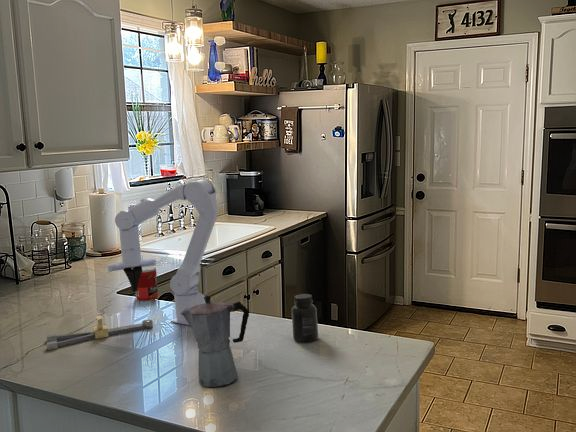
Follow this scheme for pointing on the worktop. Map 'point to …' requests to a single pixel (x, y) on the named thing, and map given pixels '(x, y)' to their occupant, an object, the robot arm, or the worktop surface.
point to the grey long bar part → (92, 335)
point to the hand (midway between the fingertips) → (134, 290)
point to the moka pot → (215, 340)
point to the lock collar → (100, 329)
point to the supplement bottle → (304, 319)
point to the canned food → (147, 284)
